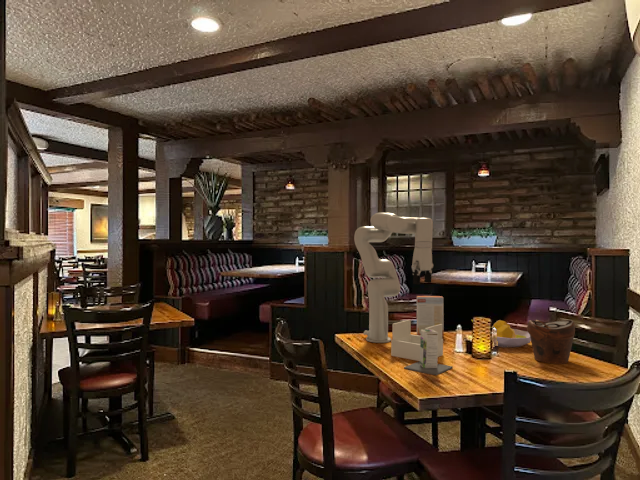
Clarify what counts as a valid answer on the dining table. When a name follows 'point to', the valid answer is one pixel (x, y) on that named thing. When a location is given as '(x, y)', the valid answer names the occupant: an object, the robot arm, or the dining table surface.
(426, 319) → the cracker box
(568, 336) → the brown flower pot
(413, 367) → the mat
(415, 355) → the carton
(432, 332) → the syrup box
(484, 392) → the dining table surface
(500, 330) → the fruit bowl
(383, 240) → the robot arm
